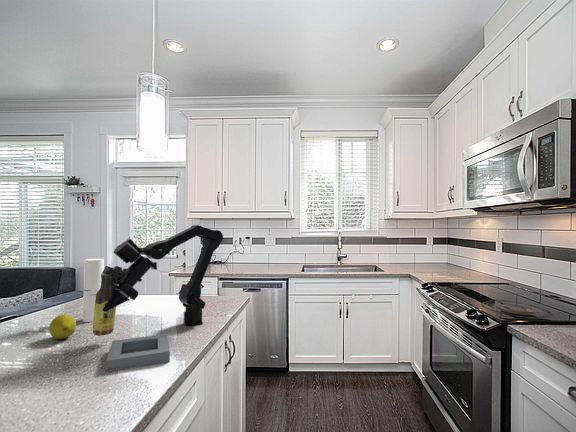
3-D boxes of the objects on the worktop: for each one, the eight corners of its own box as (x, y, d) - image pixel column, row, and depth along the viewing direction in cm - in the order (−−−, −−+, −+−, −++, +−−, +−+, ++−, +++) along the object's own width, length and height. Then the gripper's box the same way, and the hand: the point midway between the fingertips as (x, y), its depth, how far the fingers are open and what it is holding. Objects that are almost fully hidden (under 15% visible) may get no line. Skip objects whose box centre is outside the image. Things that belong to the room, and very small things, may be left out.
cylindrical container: (88, 317, 135) (89, 258, 136) (105, 316, 136) (107, 258, 137) (78, 322, 128) (80, 260, 129) (97, 321, 129) (98, 260, 130)
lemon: (50, 335, 112) (51, 313, 112) (77, 332, 116) (77, 310, 116) (45, 345, 103) (46, 320, 103) (74, 341, 107) (75, 317, 107)
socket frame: (166, 343, 105) (166, 333, 106) (169, 361, 91) (169, 351, 91) (112, 350, 99) (112, 340, 99) (106, 371, 84) (106, 360, 84)
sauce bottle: (104, 338, 101) (107, 277, 100) (87, 334, 103) (91, 274, 102) (119, 330, 108) (122, 273, 107) (103, 327, 109) (106, 270, 108)
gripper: (109, 255, 114) (73, 290, 106) (128, 258, 101) (88, 299, 93) (132, 274, 120) (99, 309, 112) (152, 280, 107) (117, 320, 99)
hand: (100, 309), depth 104 cm, fingers closed on sauce bottle, 6 cm apart
